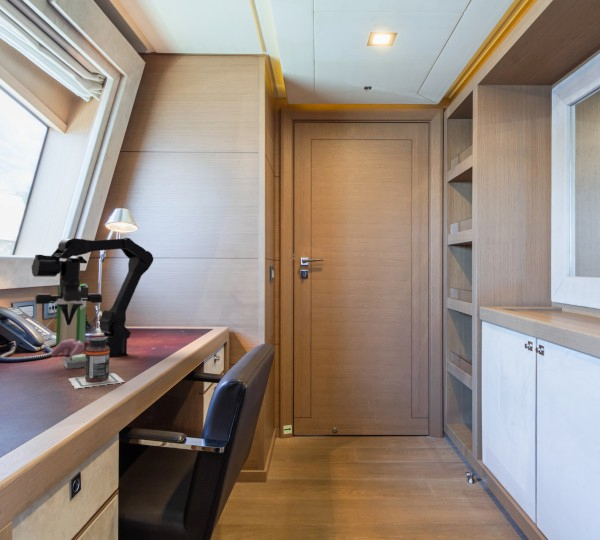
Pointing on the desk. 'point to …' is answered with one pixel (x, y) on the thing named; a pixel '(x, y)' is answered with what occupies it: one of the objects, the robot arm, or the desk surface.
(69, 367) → the button housing
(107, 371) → the supplement bottle
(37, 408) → the desk surface
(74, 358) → the button
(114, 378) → the paper sheet
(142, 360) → the desk surface
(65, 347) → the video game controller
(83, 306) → the hardback book
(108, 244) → the robot arm
